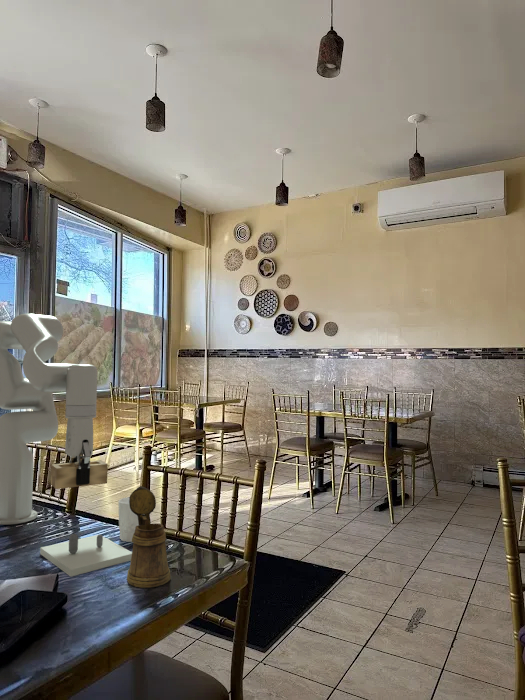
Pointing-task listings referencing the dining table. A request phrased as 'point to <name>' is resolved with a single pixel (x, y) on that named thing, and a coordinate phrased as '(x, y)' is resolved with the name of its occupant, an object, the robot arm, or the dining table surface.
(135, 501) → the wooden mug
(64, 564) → the post board
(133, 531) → the white cup
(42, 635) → the dining table surface
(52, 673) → the dining table surface
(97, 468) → the tan hollow block
